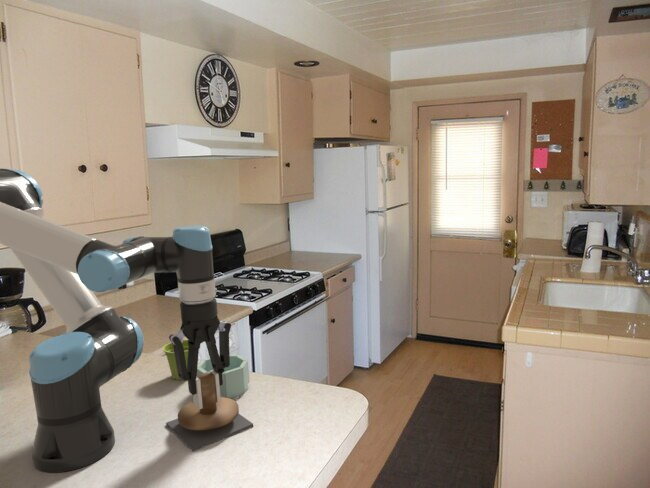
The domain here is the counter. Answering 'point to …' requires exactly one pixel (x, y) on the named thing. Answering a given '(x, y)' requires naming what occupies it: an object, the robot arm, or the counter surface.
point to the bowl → (230, 376)
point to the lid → (208, 408)
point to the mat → (208, 432)
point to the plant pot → (171, 357)
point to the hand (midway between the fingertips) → (207, 403)
